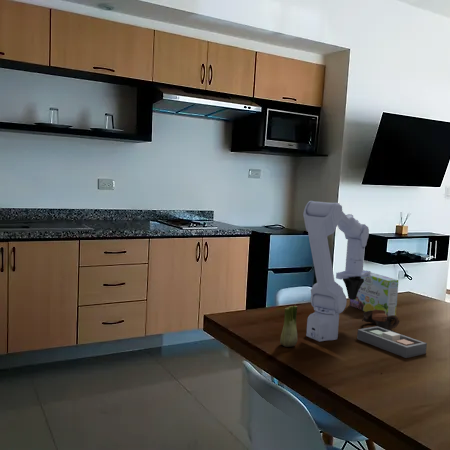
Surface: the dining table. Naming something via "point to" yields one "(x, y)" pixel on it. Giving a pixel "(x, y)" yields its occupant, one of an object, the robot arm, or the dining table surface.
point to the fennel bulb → (289, 328)
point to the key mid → (391, 336)
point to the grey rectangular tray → (392, 343)
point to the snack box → (377, 294)
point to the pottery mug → (381, 319)
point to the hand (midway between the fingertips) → (351, 298)
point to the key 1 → (376, 332)
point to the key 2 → (404, 342)
